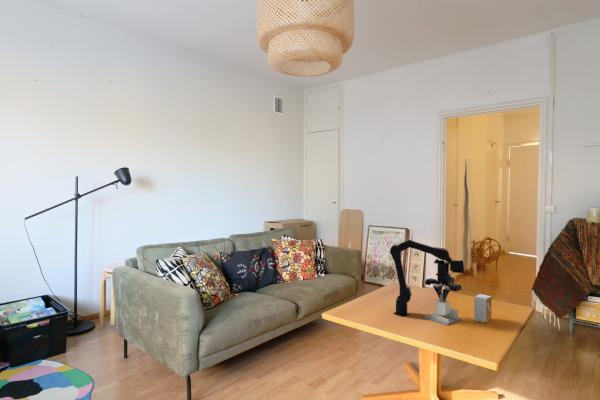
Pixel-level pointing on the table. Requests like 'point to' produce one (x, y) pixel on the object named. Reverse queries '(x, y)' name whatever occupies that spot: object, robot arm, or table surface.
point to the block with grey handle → (442, 306)
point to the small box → (482, 308)
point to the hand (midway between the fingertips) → (442, 300)
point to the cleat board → (444, 317)
